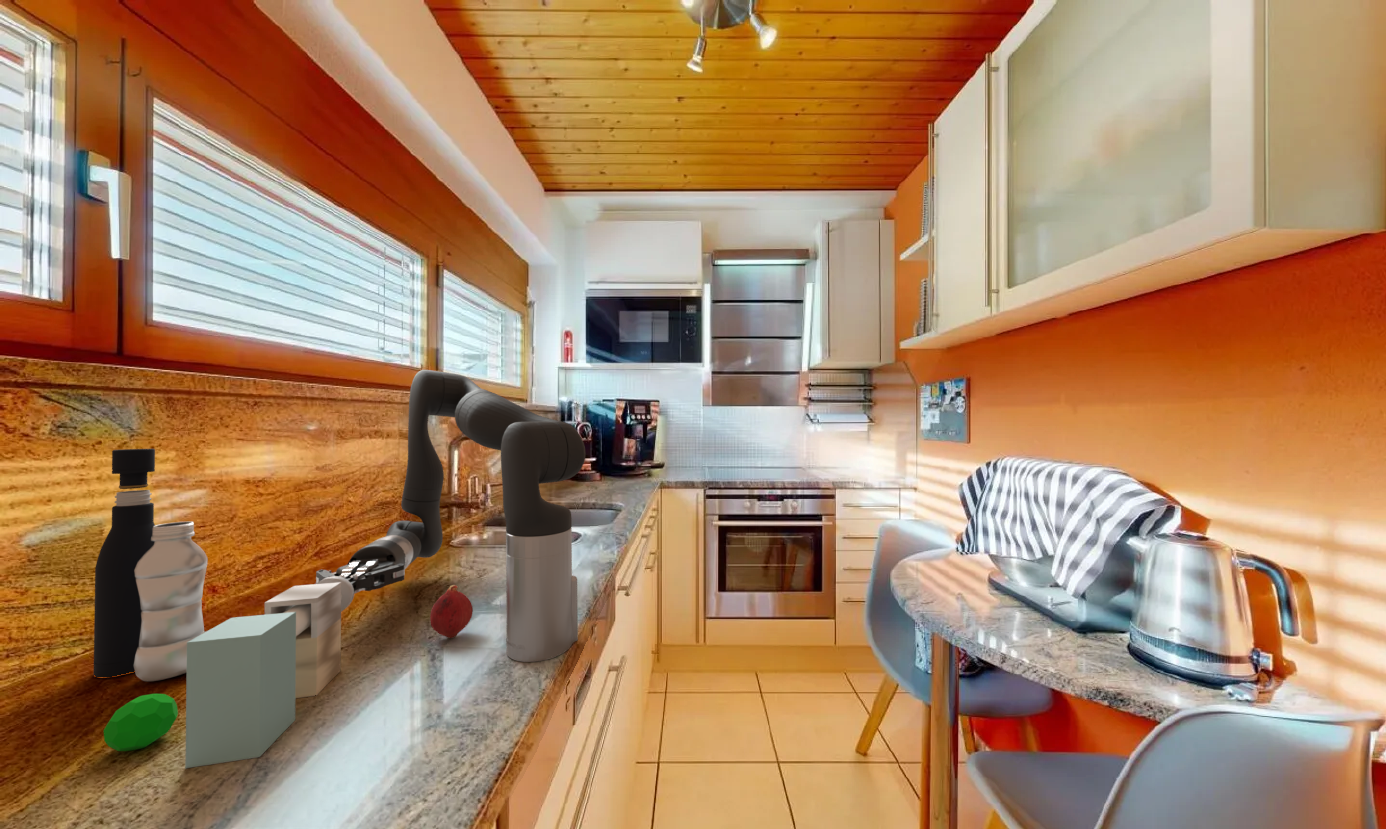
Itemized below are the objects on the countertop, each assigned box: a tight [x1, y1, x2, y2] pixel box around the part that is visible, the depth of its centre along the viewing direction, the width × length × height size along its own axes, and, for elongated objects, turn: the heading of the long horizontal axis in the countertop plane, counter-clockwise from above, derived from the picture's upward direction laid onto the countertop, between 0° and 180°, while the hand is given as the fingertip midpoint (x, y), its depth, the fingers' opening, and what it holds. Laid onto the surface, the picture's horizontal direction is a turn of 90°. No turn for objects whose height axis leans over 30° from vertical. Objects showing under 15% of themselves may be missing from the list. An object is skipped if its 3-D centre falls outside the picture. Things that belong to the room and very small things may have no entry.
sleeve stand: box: [264, 582, 342, 699], centre depth 59 cm, size 6×5×12 cm
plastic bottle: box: [133, 521, 209, 682], centre depth 62 cm, size 6×7×20 cm
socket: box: [184, 612, 296, 769], centre depth 49 cm, size 6×6×12 cm
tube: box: [284, 576, 355, 636], centre depth 58 cm, size 18×5×5 cm, turn 14°
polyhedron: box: [103, 693, 179, 752], centre depth 48 cm, size 5×5×5 cm
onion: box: [429, 584, 474, 639], centre depth 72 cm, size 6×6×8 cm
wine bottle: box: [93, 448, 156, 677], centre depth 65 cm, size 6×6×30 cm
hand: (333, 594), depth 66 cm, fingers closed
